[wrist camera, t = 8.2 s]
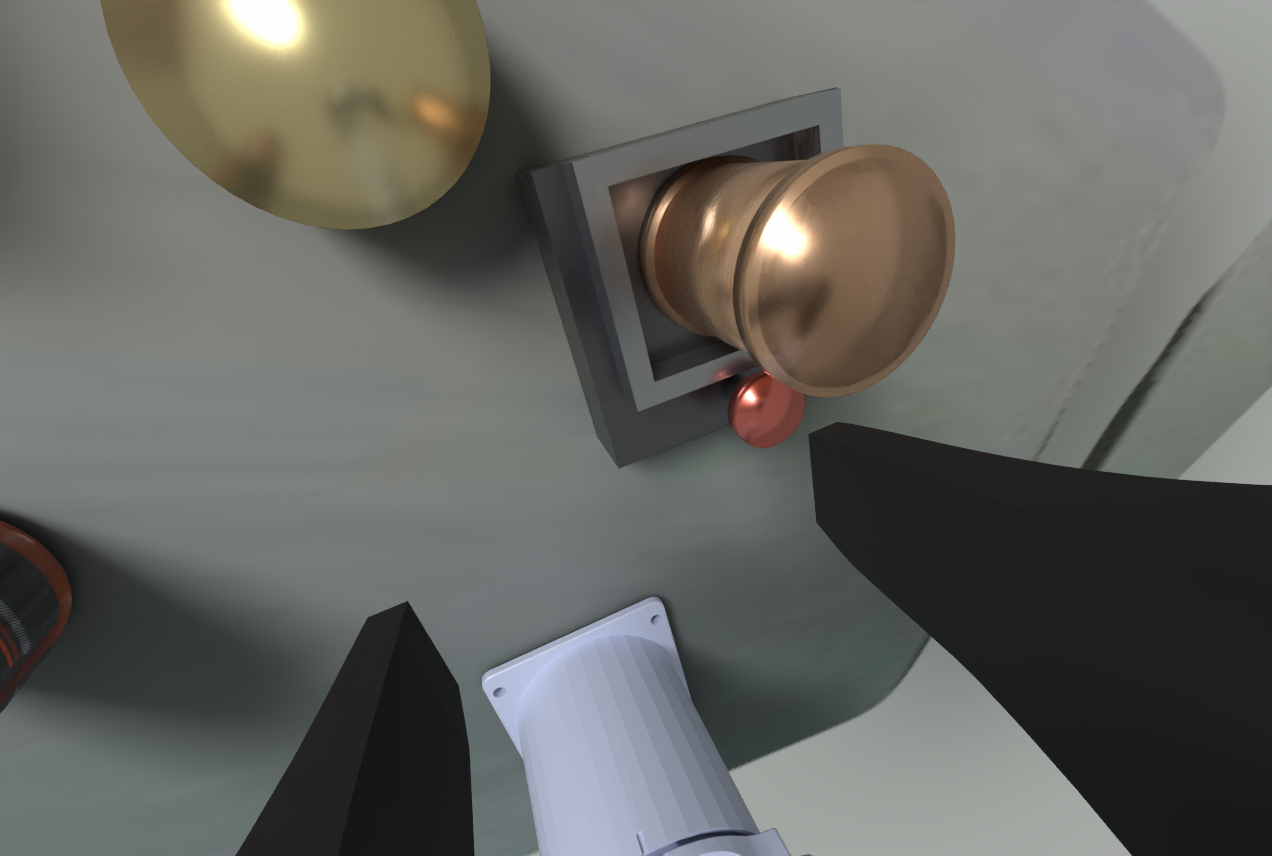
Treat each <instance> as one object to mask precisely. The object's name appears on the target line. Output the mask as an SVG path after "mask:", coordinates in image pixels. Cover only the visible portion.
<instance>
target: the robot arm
mask: <svg viewBox="0 0 1272 856" xmlns="http://www.w3.org/2000/svg"><path fill="white" fill-rule="evenodd" d="M808 435H809V446H810V457H811V467H812V478H813V489H814V500H815V510H816V521H817V524H818V525H819V526H820V527H821V528H822V530H823V531H824V532H825V533H826V534H827V536H828V537H829V538H830V539H831V541H832V542H833V543H834V544H835V545H836V547H837V548H838V549H839V550H840V551H841V552H842V553H843V555H844V556H845V557H846V558H847V559H848V560H849V561H850V562H851V564H852V565H853V566H854V567H855V568H857V569H858V570H859V571H860V572H861V573H862V574H863V575H864V576H865V577H866V578H867V579H868V580H869V581H871V582H872V583H873V584H874V585H875V586H876V587H877V588H878V589H879V590H880V591H881V592H883V593H884V594H885V595H886V596H887V597H888V598H889V599H890V600H891V601H892V602H894V603H895V604H896V605H897V606H898V607H899V608H900V609H901V610H903V611H904V612H905V613H906V614H907V615H908V616H909V617H910V618H911V619H913V620H914V621H915V622H916V623H917V624H918V625H919V626H920V627H921V628H923V629H924V630H925V631H926V632H927V633H928V634H929V635H930V636H931V637H933V638H934V639H935V640H936V641H937V642H938V643H939V644H940V645H941V646H943V647H944V648H945V649H946V650H947V651H948V652H949V653H950V654H952V655H953V656H954V657H955V658H956V659H957V660H958V661H959V662H960V663H961V664H962V665H963V666H964V667H965V668H966V669H967V670H968V671H969V672H970V673H971V674H972V675H974V677H975V678H976V679H977V680H978V681H979V682H980V683H981V684H982V685H983V686H984V687H985V688H986V689H987V690H988V691H989V693H990V694H991V695H992V696H993V697H994V698H995V699H996V700H997V701H998V702H999V703H1000V704H1001V705H1002V707H1004V709H1005V710H1006V711H1007V712H1008V713H1009V714H1010V715H1011V716H1012V717H1013V718H1014V719H1015V720H1016V722H1017V723H1018V724H1019V725H1020V726H1021V727H1022V728H1023V729H1024V730H1025V731H1026V733H1027V734H1028V735H1029V736H1030V737H1031V738H1032V739H1033V740H1034V742H1035V743H1036V744H1037V745H1038V746H1039V747H1040V748H1041V750H1042V751H1043V752H1044V753H1045V754H1046V755H1047V756H1048V757H1049V759H1050V760H1051V761H1052V762H1053V763H1054V764H1055V765H1056V767H1057V768H1058V769H1059V770H1060V771H1061V772H1062V773H1063V774H1064V776H1065V777H1066V778H1067V779H1068V780H1069V781H1070V782H1071V784H1072V785H1073V786H1074V787H1075V788H1076V789H1077V790H1078V792H1079V793H1080V794H1081V795H1082V796H1083V798H1084V799H1085V800H1086V801H1087V802H1088V804H1089V805H1090V806H1091V807H1092V808H1093V810H1094V811H1095V812H1096V813H1097V814H1098V815H1099V817H1100V818H1101V819H1102V820H1103V821H1104V823H1105V824H1106V825H1107V826H1108V827H1109V829H1110V830H1111V831H1112V832H1113V833H1114V835H1115V836H1116V837H1117V838H1118V839H1119V841H1120V842H1121V843H1122V844H1123V845H1124V847H1125V848H1126V849H1127V850H1128V851H1129V853H1130V854H1131V855H1132V856H1272V485H1251V484H1237V483H1221V482H1205V481H1190V480H1178V479H1166V478H1155V477H1145V476H1136V475H1128V474H1119V473H1111V472H1102V471H1094V470H1085V469H1078V468H1072V467H1065V466H1058V465H1051V464H1046V463H1040V462H1034V461H1029V460H1023V459H1017V458H1011V457H1006V456H1000V455H995V454H990V453H985V452H980V451H975V450H970V449H965V448H961V447H956V446H951V445H947V444H942V443H938V442H933V441H929V440H924V439H920V438H915V437H911V436H906V435H902V434H897V433H893V432H888V431H884V430H879V429H874V428H869V427H864V426H859V425H854V424H848V423H841V422H836V423H834V424H831V425H829V426H827V427H824V428H822V429H819V430H817V431H815V432H812V433H810V434H808ZM655 615H657V616H656V617H655V618H652V617H653V616H655ZM482 686H483V690H484V692H485V693H486V695H487V697H488V699H489V700H490V702H491V704H492V706H493V707H494V709H495V711H496V713H497V714H498V716H499V718H500V720H501V721H502V723H503V725H504V727H505V729H506V730H507V732H508V734H509V736H510V737H511V739H512V741H513V743H514V744H515V746H516V748H517V750H518V751H519V753H520V755H521V757H522V758H523V760H524V766H525V771H526V777H527V783H528V788H529V794H530V799H531V805H532V811H533V816H534V822H535V828H536V833H537V839H538V845H539V850H540V856H791V855H790V853H789V851H788V849H787V848H786V846H785V844H784V842H783V840H782V839H781V837H780V835H779V833H778V831H777V829H775V828H771V829H769V830H767V831H765V832H761V833H760V832H759V830H758V828H757V826H756V824H755V822H754V820H753V818H752V816H751V814H750V812H749V811H748V809H747V807H746V805H745V803H744V801H743V799H742V797H741V795H740V793H739V791H738V789H737V788H736V785H735V784H734V782H733V780H732V778H731V776H730V774H729V772H728V770H727V768H726V766H725V764H724V762H723V760H722V758H721V757H720V755H719V753H718V751H717V749H716V747H715V745H714V743H713V741H712V739H711V737H710V735H709V733H708V731H707V730H706V728H705V726H704V724H703V722H702V720H701V718H700V716H699V714H698V712H697V710H696V708H695V706H694V705H693V703H692V700H691V696H690V693H689V690H688V686H687V683H686V679H685V676H684V673H683V669H682V666H681V662H680V659H679V655H678V652H677V649H676V645H675V642H674V638H673V635H672V632H671V628H670V625H669V621H668V618H667V614H666V611H665V608H664V605H663V603H662V602H661V600H660V599H659V598H658V597H650V598H647V599H645V600H643V601H641V602H639V603H636V604H634V605H632V606H630V607H628V608H625V609H623V610H621V611H619V612H617V613H614V614H612V615H610V616H608V617H606V618H603V619H601V620H599V621H597V622H595V623H592V624H590V625H588V626H586V627H584V628H581V629H579V630H577V631H575V632H573V633H570V634H568V635H566V636H564V637H562V638H559V639H557V640H555V641H553V642H551V643H548V644H546V645H544V646H542V647H540V648H537V649H535V650H533V651H531V652H529V653H526V654H524V655H522V656H520V657H518V658H515V659H513V660H511V661H509V662H507V663H504V664H502V665H500V666H498V667H496V668H493V669H491V670H489V671H488V672H486V673H485V674H484V675H483V677H482ZM501 687H502V688H501ZM497 688H501V689H499V690H496V689H497ZM236 856H474V836H473V813H472V792H471V772H470V754H469V744H468V737H467V731H466V725H465V719H464V713H463V708H462V702H461V696H460V691H459V685H458V684H457V682H456V680H455V679H454V677H453V675H452V674H451V672H450V670H449V669H448V667H447V665H446V664H445V662H444V660H443V659H442V657H441V655H440V654H439V652H438V650H437V649H436V647H435V645H434V644H433V642H432V640H431V639H430V637H429V636H428V634H427V632H426V631H425V629H424V627H423V626H422V624H421V622H420V621H419V619H418V617H417V616H416V614H415V612H414V611H413V609H412V607H411V606H410V604H409V602H408V601H406V602H404V603H402V604H399V605H397V606H394V607H392V608H390V609H387V610H385V611H382V612H380V613H378V614H375V615H373V616H370V617H368V618H367V620H366V622H365V624H364V626H363V627H362V629H361V631H360V633H359V635H358V637H357V639H356V641H355V643H354V645H353V647H352V648H351V650H350V652H349V654H348V656H347V658H346V660H345V662H344V664H343V666H342V668H341V670H340V672H339V674H338V676H337V677H336V679H335V681H334V683H333V685H332V687H331V689H330V691H329V693H328V695H327V697H326V699H325V701H324V702H323V704H322V706H321V708H320V710H319V712H318V714H317V716H316V717H315V719H314V721H313V723H312V725H311V727H310V729H309V730H308V732H307V734H306V736H305V738H304V740H303V742H302V743H301V745H300V747H299V749H298V751H297V753H296V754H295V756H294V758H293V760H292V761H291V763H290V765H289V766H288V768H287V770H286V772H285V773H284V775H283V777H282V778H281V780H280V782H279V783H278V785H277V787H276V789H275V790H274V792H273V794H272V795H271V797H270V799H269V801H268V802H267V804H266V806H265V807H264V809H263V811H262V812H261V814H260V816H259V818H258V819H257V821H256V823H255V824H254V826H253V828H252V829H251V831H250V833H249V835H248V836H247V838H246V840H245V841H244V843H243V844H242V846H241V848H240V849H239V851H238V852H237V854H236ZM803 856H812V855H809V854H808V855H803Z"/></svg>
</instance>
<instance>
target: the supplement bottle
mask: <svg viewBox="0 0 1272 856" xmlns="http://www.w3.org/2000/svg"><path fill="white" fill-rule="evenodd" d="M71 607H72V588H71V585H70V583H69V581H68V578H67V575H66V572H65V571H64V569H63V568H62V566H61V565H60V563H59V562H58V561H57V560H56V558H55V557H54V556H53V555H52V554H51V553H50V552H49V551H48V550H47V549H46V548H45V547H44V546H43V545H42V544H41V543H40V542H39V541H37V540H36V539H35V538H33V537H32V536H30V535H28V534H27V533H25V532H24V531H22V530H20V529H18V528H16V527H15V526H12V525H9V524H7V523H5V522H3V521H1V520H0V713H1V712H2V711H3V710H4V709H5V707H6V706H7V705H8V704H9V702H10V701H11V699H12V698H13V697H14V696H15V694H16V693H17V692H18V691H19V690H20V688H21V687H22V685H23V684H24V683H25V682H26V681H27V679H28V678H29V677H30V675H31V674H32V673H33V672H34V670H35V669H36V668H37V666H38V665H39V664H40V663H41V661H42V660H43V659H44V658H45V657H46V655H47V653H48V652H49V651H50V649H51V648H52V646H53V644H54V643H55V642H56V640H57V639H58V637H59V636H60V635H61V633H62V632H63V630H64V628H65V626H66V624H67V621H68V619H69V616H70V612H71Z"/></svg>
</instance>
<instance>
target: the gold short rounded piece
mask: <svg viewBox="0 0 1272 856" xmlns="http://www.w3.org/2000/svg"><path fill="white" fill-rule="evenodd" d="M101 6H102V10H103V15H104V19H105V23H106V27H107V32H108V35H109V38H110V40H111V43H112V46H113V48H114V51H115V54H116V57H117V59H118V62H119V64H120V66H121V68H122V70H123V72H124V74H125V76H126V78H127V80H128V82H129V84H130V86H131V88H132V90H133V91H134V93H135V95H136V96H137V98H138V99H139V101H140V102H141V104H142V105H143V107H144V109H145V110H146V112H147V113H148V115H149V116H150V117H151V119H152V120H153V121H154V122H155V124H156V125H157V126H158V127H159V129H160V130H161V131H162V132H163V134H164V135H165V136H166V138H167V139H168V140H169V141H170V142H171V143H172V144H173V145H174V146H175V147H176V148H177V149H178V150H179V151H180V152H181V153H182V154H183V155H184V156H185V157H186V158H187V159H188V160H189V161H190V162H191V163H192V164H193V165H195V166H196V167H197V168H198V169H199V170H201V171H202V172H203V173H204V174H205V175H206V176H208V177H209V178H210V179H211V180H213V181H214V182H216V183H217V184H219V185H220V186H222V187H223V188H225V189H226V190H227V191H229V192H230V193H232V194H233V195H235V196H237V197H239V198H241V199H242V200H244V201H246V202H248V203H250V204H252V205H253V206H255V207H257V208H259V209H262V210H264V211H267V212H269V213H271V214H274V215H276V216H279V217H281V218H285V219H288V220H291V221H295V222H298V223H301V224H305V225H311V226H317V227H322V228H330V229H348V230H350V229H365V228H373V227H378V226H383V225H388V224H392V223H395V222H397V221H400V220H403V219H406V218H409V217H411V216H413V215H414V214H416V213H418V212H420V211H422V210H424V209H426V208H427V207H429V206H430V205H431V204H433V203H434V202H435V201H437V200H438V199H440V198H441V197H442V196H443V195H444V194H445V193H446V192H447V191H448V190H449V189H450V188H451V187H452V186H453V185H454V184H455V183H456V182H457V180H458V179H459V178H460V176H461V175H462V174H463V172H464V171H465V170H466V168H467V167H468V165H469V163H470V161H471V159H472V158H473V156H474V154H475V152H476V150H477V147H478V145H479V142H480V139H481V137H482V134H483V131H484V127H485V123H486V118H487V114H488V109H489V99H490V89H491V86H490V60H489V53H488V45H487V39H486V35H485V31H484V27H483V22H482V18H481V15H480V12H479V9H478V6H477V4H476V1H475V0H101Z"/></svg>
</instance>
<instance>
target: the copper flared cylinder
mask: <svg viewBox="0 0 1272 856" xmlns="http://www.w3.org/2000/svg"><path fill="white" fill-rule="evenodd" d="M954 254H955V228H954V219H953V214H952V209H951V205H950V202H949V199H948V196H947V194H946V192H945V190H944V188H943V186H942V184H941V182H940V180H939V179H938V177H937V176H936V174H935V173H934V172H933V170H932V169H931V168H930V167H929V166H928V165H927V164H926V163H925V162H924V161H923V160H921V159H920V158H918V157H917V156H915V155H914V154H912V153H910V152H908V151H906V150H903V149H901V148H898V147H893V146H889V145H859V146H848V147H841V148H835V149H832V150H829V151H825V152H822V153H820V154H818V155H816V156H814V157H812V158H810V159H808V160H795V161H774V162H761V161H758V160H756V159H753V158H750V157H745V156H737V155H727V156H716V157H709V158H705V159H702V160H699V161H696V162H694V163H692V164H690V165H688V166H686V167H685V168H683V169H682V170H680V171H679V172H678V173H676V174H675V175H674V176H673V177H672V178H671V179H670V180H669V181H668V182H667V183H666V184H665V185H664V186H663V187H662V189H661V190H660V191H659V193H658V194H657V196H656V197H655V199H654V201H653V203H652V204H651V206H650V208H649V210H648V213H647V216H646V218H645V221H644V225H643V229H642V233H641V239H640V266H641V272H642V276H643V281H644V283H645V286H646V289H647V291H648V293H649V295H650V297H651V299H652V300H653V302H654V303H655V305H656V306H657V307H658V309H659V310H660V311H661V312H662V313H663V314H664V315H665V316H666V317H668V318H669V319H670V320H672V321H673V322H675V323H676V324H678V325H680V326H682V327H684V328H685V329H687V330H689V331H691V332H694V333H697V334H700V335H705V336H715V337H717V338H719V339H720V340H722V341H724V342H726V343H728V344H730V345H732V346H734V347H735V348H737V349H739V350H741V351H743V352H745V353H747V354H748V355H750V356H751V358H752V359H753V361H754V362H755V363H756V364H757V365H758V366H759V367H760V368H761V369H762V370H763V371H764V372H765V373H767V374H768V375H769V376H770V377H772V378H774V379H776V380H777V381H779V382H781V383H783V384H784V385H786V386H788V387H790V388H792V389H793V390H795V391H797V392H800V393H803V394H806V395H809V396H815V397H839V396H845V395H848V394H852V393H856V392H858V391H861V390H863V389H865V388H868V387H870V386H872V385H873V384H875V383H877V382H879V381H880V380H882V379H883V378H885V377H886V376H887V375H889V374H890V373H892V372H893V371H894V370H895V369H896V368H897V367H898V366H900V365H901V364H902V363H903V362H904V361H905V360H906V359H907V358H908V357H909V356H910V354H911V353H912V352H913V351H914V350H915V349H916V347H917V346H918V345H919V343H920V342H921V341H922V340H923V338H924V336H925V335H926V333H927V332H928V330H929V329H930V327H931V325H932V324H933V322H934V320H935V318H936V316H937V314H938V312H939V310H940V307H941V305H942V303H943V300H944V298H945V295H946V292H947V289H948V286H949V282H950V278H951V273H952V269H953V262H954Z"/></svg>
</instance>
